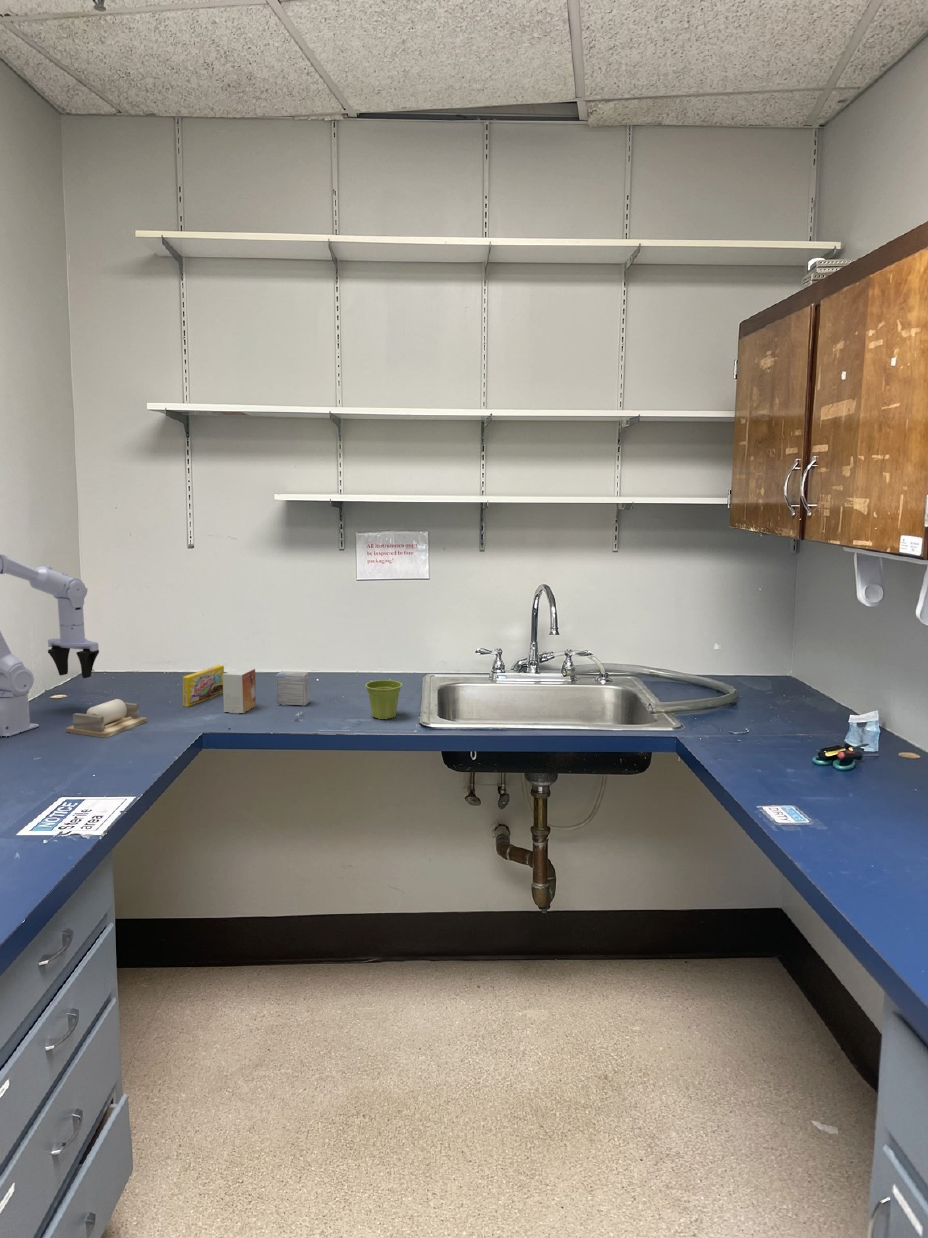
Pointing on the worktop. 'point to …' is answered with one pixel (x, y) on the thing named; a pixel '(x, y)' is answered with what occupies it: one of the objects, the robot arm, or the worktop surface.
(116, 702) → the paper roll
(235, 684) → the small box
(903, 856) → the worktop surface
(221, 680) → the candy box
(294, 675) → the grey wooden crate
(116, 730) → the roll holder
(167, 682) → the worktop surface
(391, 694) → the plant pot
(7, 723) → the robot arm
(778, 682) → the worktop surface
